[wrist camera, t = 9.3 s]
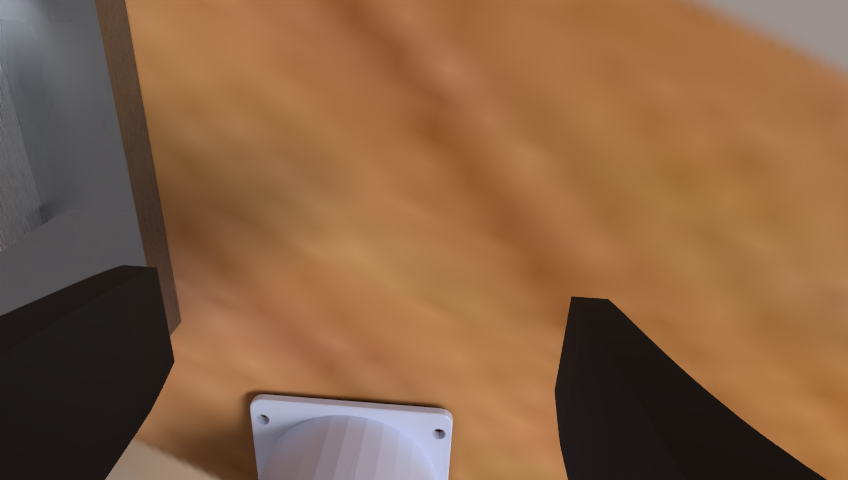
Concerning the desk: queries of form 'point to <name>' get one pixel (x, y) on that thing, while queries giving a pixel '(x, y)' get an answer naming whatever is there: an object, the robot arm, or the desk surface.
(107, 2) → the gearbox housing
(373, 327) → the desk surface
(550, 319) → the desk surface
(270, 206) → the desk surface
